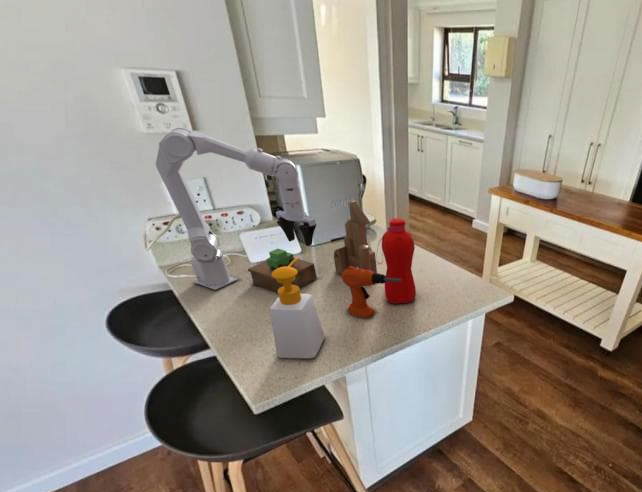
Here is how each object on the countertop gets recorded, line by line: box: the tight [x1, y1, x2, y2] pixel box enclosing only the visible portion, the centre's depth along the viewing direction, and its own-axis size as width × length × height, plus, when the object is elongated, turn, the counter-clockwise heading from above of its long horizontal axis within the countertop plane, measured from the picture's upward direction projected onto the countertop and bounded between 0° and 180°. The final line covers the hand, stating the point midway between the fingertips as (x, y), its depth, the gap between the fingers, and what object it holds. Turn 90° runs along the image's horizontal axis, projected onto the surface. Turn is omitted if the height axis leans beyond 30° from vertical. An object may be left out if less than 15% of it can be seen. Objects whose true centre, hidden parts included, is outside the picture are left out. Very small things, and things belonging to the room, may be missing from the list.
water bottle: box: [376, 217, 417, 304], centre depth 108 cm, size 9×11×25 cm
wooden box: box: [249, 265, 317, 293], centre depth 119 cm, size 13×15×5 cm
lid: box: [247, 257, 315, 280], centre depth 117 cm, size 13×15×1 cm
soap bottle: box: [269, 256, 326, 359], centre depth 88 cm, size 10×14×22 cm
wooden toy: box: [333, 200, 378, 276], centre depth 119 cm, size 16×7×25 cm, turn 57°
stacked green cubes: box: [266, 248, 295, 268], centre depth 116 cm, size 7×4×5 cm, turn 155°
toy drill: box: [341, 266, 402, 319], centre depth 101 cm, size 5×19×15 cm, turn 71°
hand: (300, 242), depth 121 cm, fingers open, 7 cm apart
